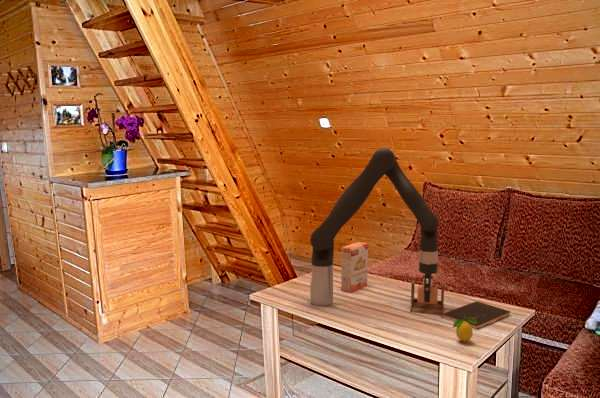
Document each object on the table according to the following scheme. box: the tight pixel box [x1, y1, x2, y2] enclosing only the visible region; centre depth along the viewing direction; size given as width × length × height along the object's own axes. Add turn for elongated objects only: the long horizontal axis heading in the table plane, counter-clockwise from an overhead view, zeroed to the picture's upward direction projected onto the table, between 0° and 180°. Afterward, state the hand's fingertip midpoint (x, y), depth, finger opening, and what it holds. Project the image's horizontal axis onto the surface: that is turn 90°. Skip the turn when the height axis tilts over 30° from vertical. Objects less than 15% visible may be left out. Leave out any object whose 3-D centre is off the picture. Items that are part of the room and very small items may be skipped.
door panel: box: [416, 285, 439, 305], centre depth 211 cm, size 8×3×8 cm, turn 74°
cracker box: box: [340, 241, 369, 293], centre depth 238 cm, size 14×6×21 cm, turn 139°
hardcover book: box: [441, 300, 512, 330], centre depth 203 cm, size 16×23×2 cm
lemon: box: [452, 315, 477, 342], centre depth 179 cm, size 7×6×10 cm
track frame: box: [409, 280, 445, 316], centre depth 211 cm, size 13×12×11 cm
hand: (427, 298), depth 211 cm, fingers open, 8 cm apart
